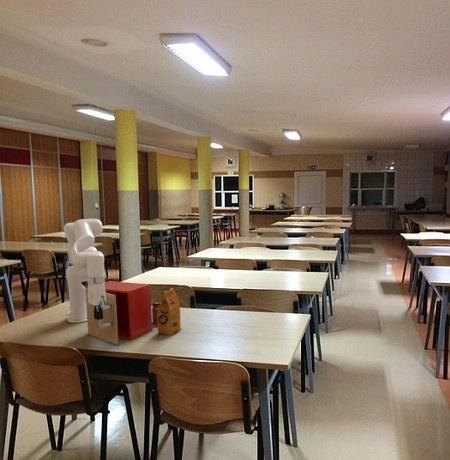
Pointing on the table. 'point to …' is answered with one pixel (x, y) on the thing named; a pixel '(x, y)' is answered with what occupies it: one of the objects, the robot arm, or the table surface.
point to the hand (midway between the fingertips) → (98, 318)
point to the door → (103, 320)
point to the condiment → (155, 313)
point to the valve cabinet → (131, 308)
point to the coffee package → (169, 313)
